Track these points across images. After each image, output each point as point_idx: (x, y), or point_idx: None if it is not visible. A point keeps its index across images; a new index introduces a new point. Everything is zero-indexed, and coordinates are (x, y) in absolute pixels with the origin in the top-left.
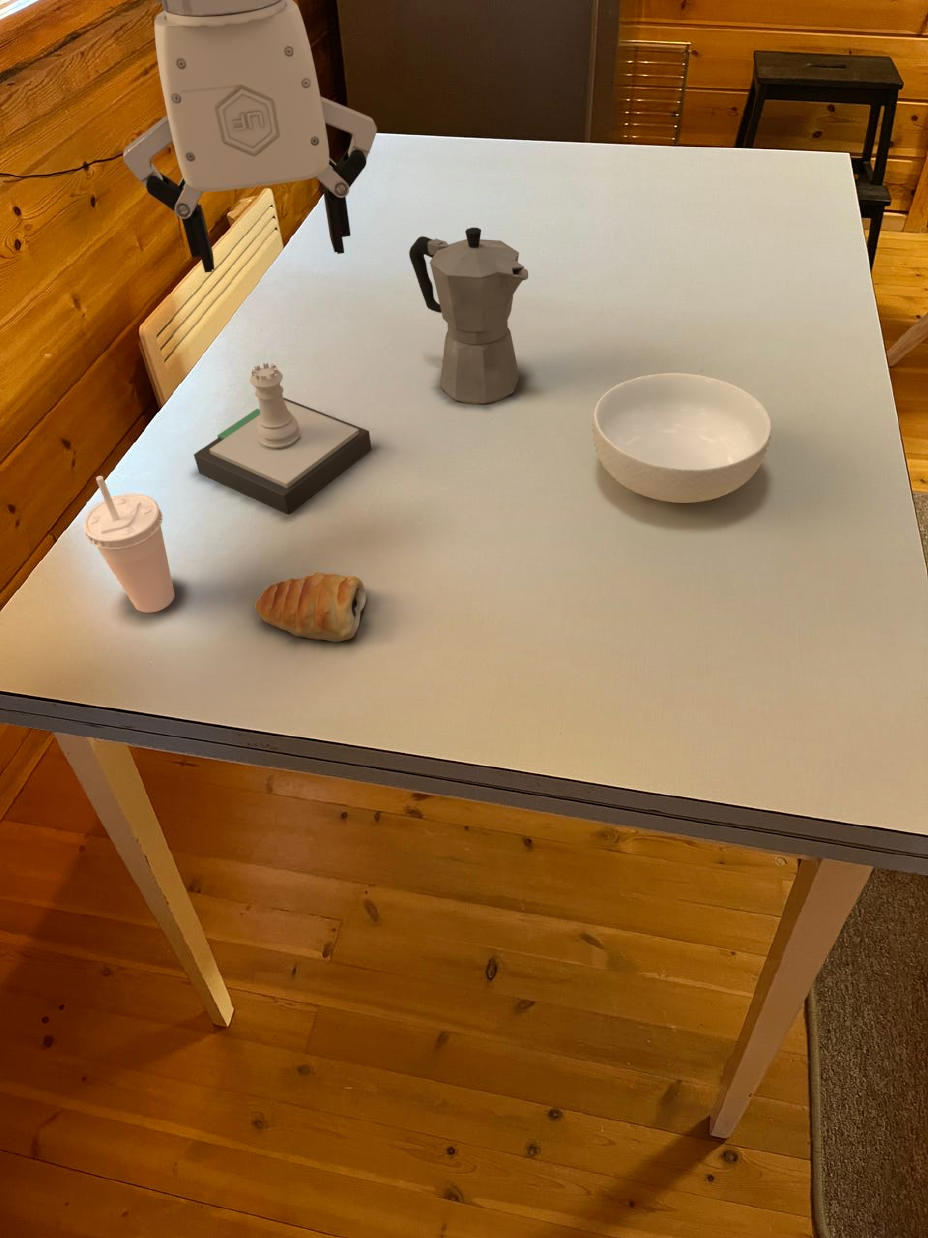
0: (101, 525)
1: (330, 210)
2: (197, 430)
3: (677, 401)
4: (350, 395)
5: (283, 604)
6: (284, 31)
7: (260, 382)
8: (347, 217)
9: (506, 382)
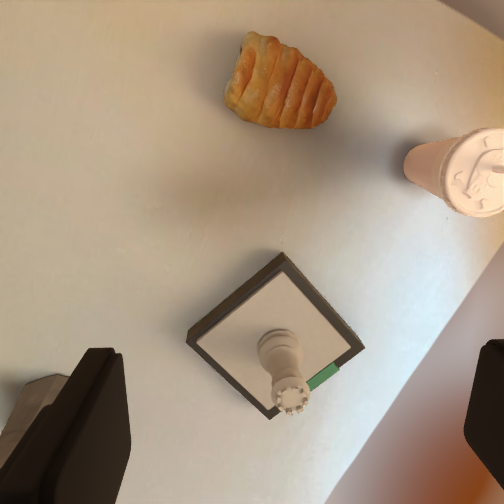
0: None
1: (60, 456)
2: (351, 399)
3: None
4: (198, 419)
5: (311, 76)
6: None
7: (299, 383)
8: (18, 445)
9: (26, 392)
